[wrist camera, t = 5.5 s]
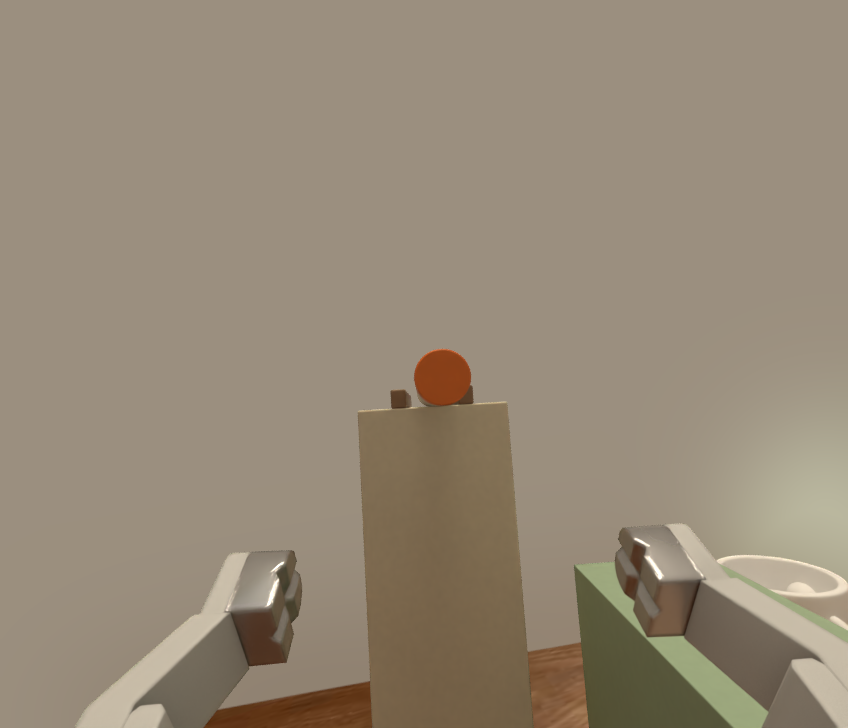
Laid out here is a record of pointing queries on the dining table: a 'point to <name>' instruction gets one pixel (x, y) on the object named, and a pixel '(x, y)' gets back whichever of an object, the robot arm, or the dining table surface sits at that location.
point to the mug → (797, 583)
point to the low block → (657, 664)
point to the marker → (441, 378)
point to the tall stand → (443, 567)
